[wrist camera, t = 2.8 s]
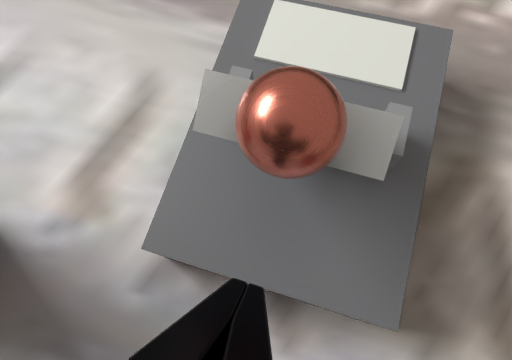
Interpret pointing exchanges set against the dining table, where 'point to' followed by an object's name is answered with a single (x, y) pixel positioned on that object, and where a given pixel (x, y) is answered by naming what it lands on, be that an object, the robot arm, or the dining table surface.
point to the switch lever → (296, 123)
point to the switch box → (322, 182)
